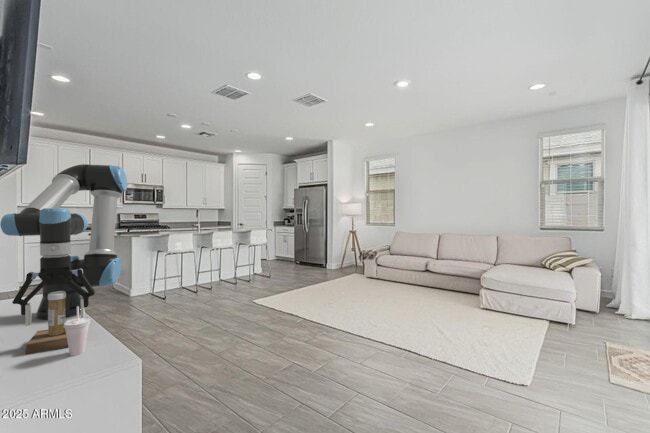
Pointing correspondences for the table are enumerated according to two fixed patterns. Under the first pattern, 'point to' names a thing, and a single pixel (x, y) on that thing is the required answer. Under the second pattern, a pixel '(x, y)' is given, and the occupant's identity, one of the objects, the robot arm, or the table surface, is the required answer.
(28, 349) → the walnut base
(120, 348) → the table surface
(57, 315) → the sprinkles bottle
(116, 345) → the table surface
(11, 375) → the table surface
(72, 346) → the smoothie
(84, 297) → the robot arm
